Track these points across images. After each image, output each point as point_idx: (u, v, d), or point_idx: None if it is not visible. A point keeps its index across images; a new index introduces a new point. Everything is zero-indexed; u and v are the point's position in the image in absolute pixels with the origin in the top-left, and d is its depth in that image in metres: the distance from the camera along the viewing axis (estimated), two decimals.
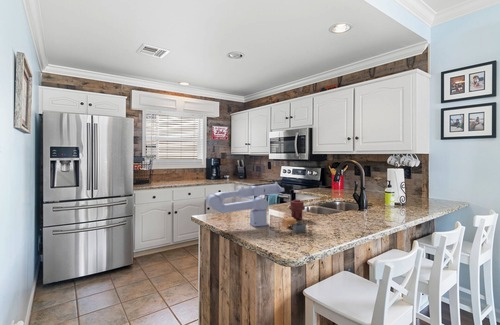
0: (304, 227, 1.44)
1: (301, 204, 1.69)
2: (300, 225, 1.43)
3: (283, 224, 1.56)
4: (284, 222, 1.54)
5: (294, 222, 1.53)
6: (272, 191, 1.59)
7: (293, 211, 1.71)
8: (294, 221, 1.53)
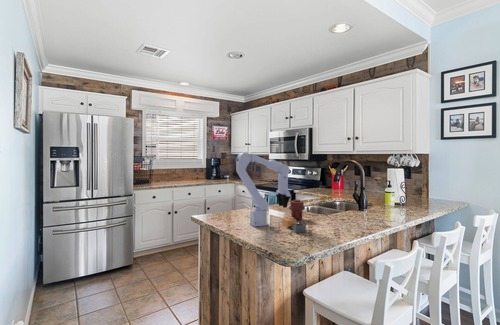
0: (304, 227, 1.44)
1: (301, 204, 1.69)
2: (300, 225, 1.43)
3: (283, 224, 1.56)
4: (284, 222, 1.54)
5: (294, 222, 1.53)
6: (283, 186, 1.60)
7: (293, 211, 1.71)
8: (294, 221, 1.53)
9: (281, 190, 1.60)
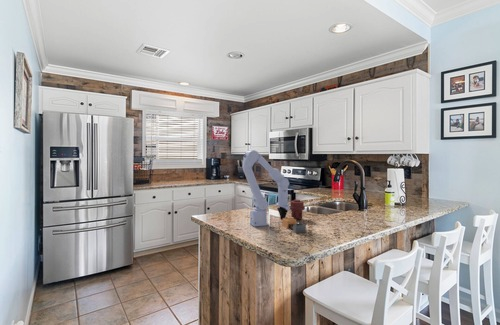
0: (304, 227, 1.44)
1: (301, 204, 1.69)
2: (300, 225, 1.43)
3: (283, 224, 1.56)
4: (284, 222, 1.54)
5: (294, 222, 1.53)
6: (283, 199, 1.60)
7: (293, 211, 1.71)
8: (294, 221, 1.53)
9: (281, 203, 1.60)
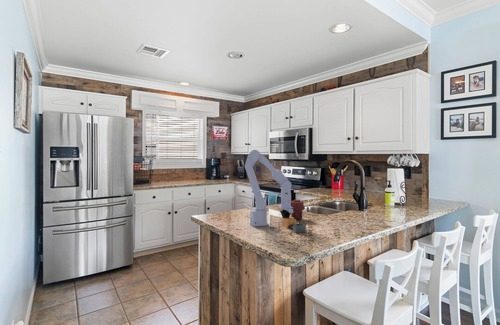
0: (304, 227, 1.44)
1: (301, 204, 1.69)
2: (300, 225, 1.43)
3: (283, 224, 1.56)
4: (284, 222, 1.54)
5: (294, 222, 1.53)
6: (286, 202, 1.56)
7: (293, 211, 1.71)
8: (294, 221, 1.53)
9: (284, 206, 1.57)
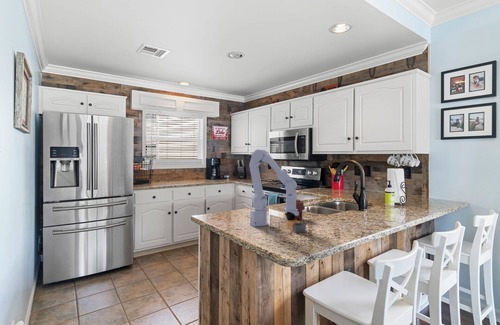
0: (304, 227, 1.44)
1: (301, 204, 1.69)
2: (300, 225, 1.43)
3: (288, 227, 1.50)
4: (289, 225, 1.48)
5: None
6: (291, 204, 1.50)
7: None
8: None
9: (289, 208, 1.51)
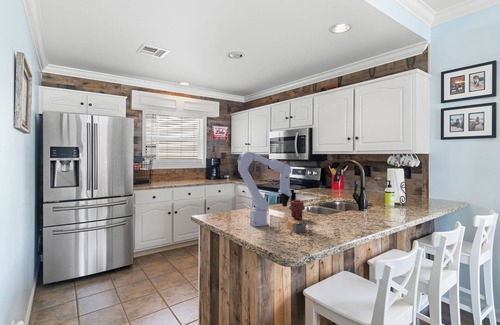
0: (304, 227, 1.44)
1: (301, 204, 1.69)
2: (300, 225, 1.43)
3: (288, 227, 1.50)
4: (289, 225, 1.48)
5: None
6: (285, 185, 1.60)
7: (293, 211, 1.71)
8: None
9: (283, 190, 1.61)
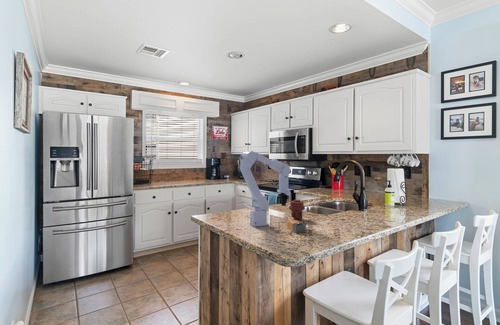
0: (304, 227, 1.44)
1: (301, 204, 1.69)
2: (300, 225, 1.43)
3: (288, 227, 1.50)
4: (289, 225, 1.48)
5: None
6: (284, 185, 1.63)
7: (293, 211, 1.71)
8: None
9: (282, 189, 1.64)
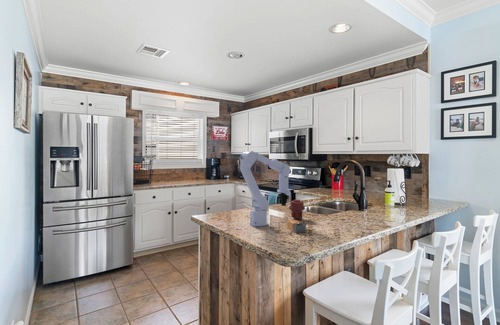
0: (304, 227, 1.44)
1: (301, 204, 1.69)
2: (300, 225, 1.43)
3: (288, 227, 1.50)
4: (289, 225, 1.48)
5: None
6: (284, 185, 1.63)
7: (293, 211, 1.71)
8: None
9: (282, 189, 1.64)
